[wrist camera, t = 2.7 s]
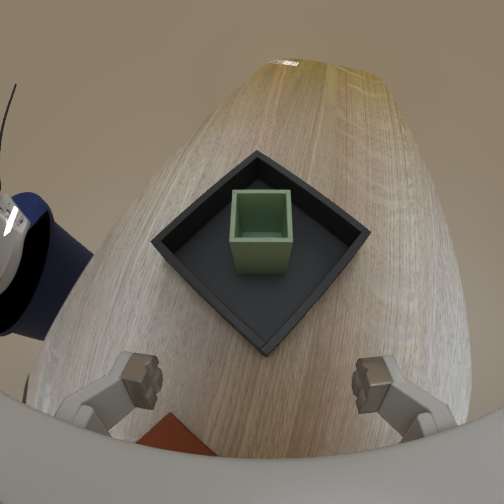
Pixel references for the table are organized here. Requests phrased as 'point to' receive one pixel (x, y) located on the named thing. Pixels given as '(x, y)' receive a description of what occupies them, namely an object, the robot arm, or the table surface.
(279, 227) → the box
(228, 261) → the bin
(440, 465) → the robot arm
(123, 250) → the table surface
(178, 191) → the table surface
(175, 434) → the mat
